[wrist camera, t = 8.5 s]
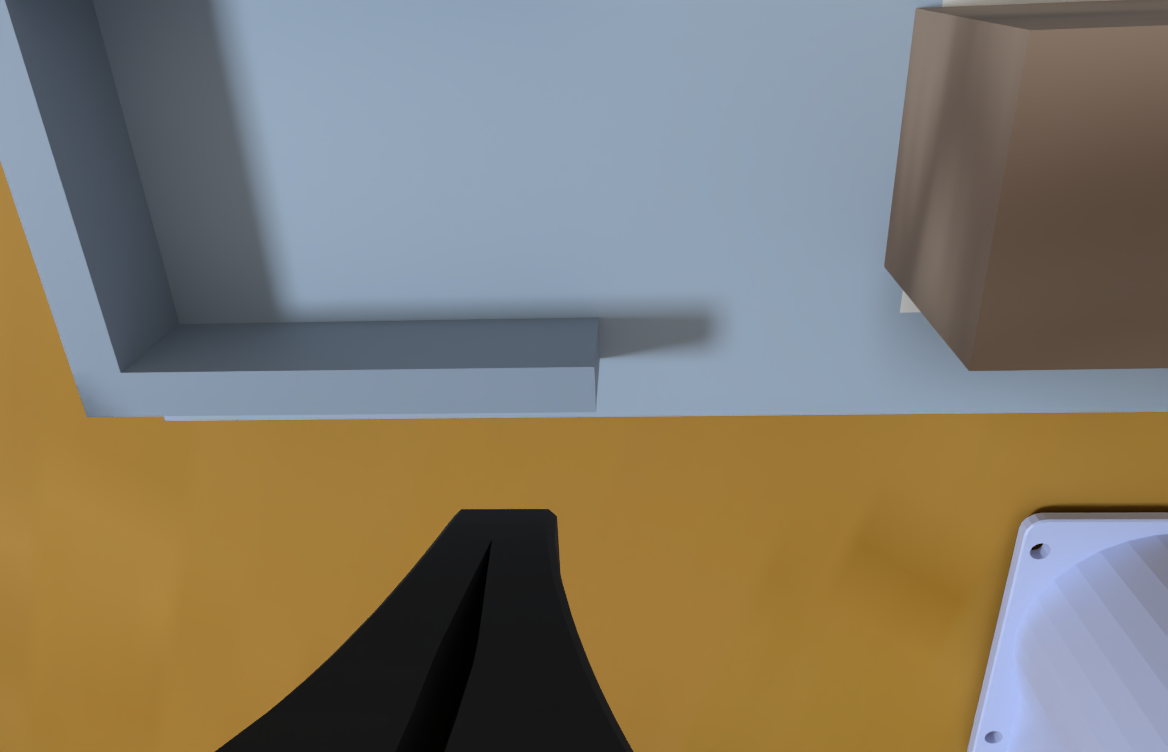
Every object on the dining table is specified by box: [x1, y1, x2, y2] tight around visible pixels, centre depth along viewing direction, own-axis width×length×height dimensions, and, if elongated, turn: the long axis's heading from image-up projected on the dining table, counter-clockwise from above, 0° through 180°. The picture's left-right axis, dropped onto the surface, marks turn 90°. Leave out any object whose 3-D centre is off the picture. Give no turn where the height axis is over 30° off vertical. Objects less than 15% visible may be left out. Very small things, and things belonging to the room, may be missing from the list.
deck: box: [0, 0, 1168, 421], centre depth 16 cm, size 17×24×4 cm
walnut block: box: [884, 0, 1168, 371], centre depth 14 cm, size 5×5×5 cm
